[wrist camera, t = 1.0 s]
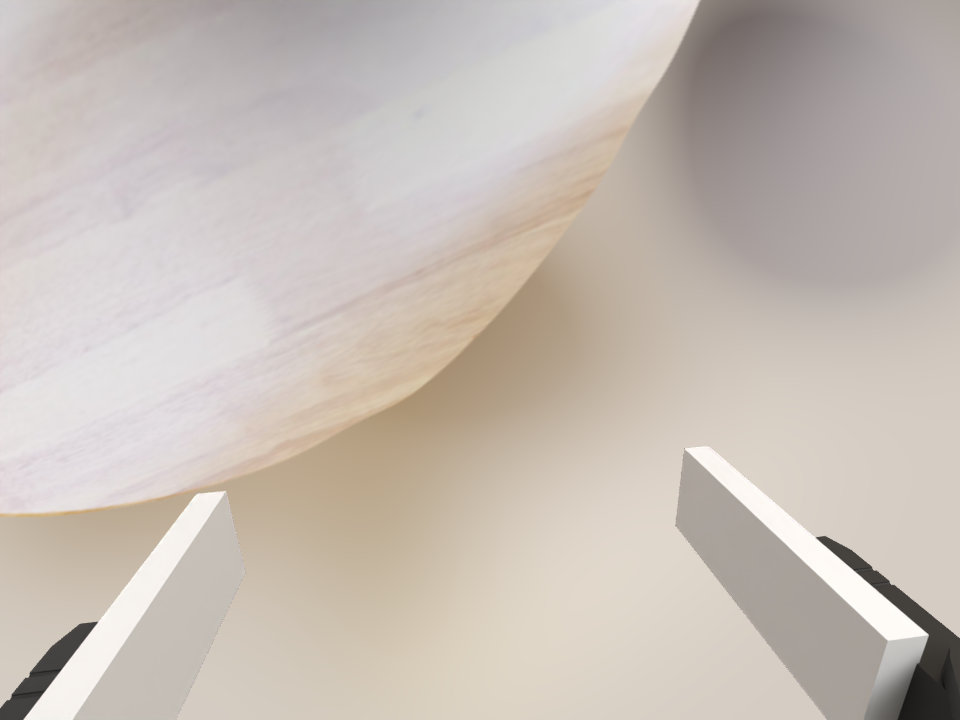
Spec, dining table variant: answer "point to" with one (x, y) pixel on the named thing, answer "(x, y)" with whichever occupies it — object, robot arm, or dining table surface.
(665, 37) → the dining table surface
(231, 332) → the dining table surface
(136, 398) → the dining table surface
